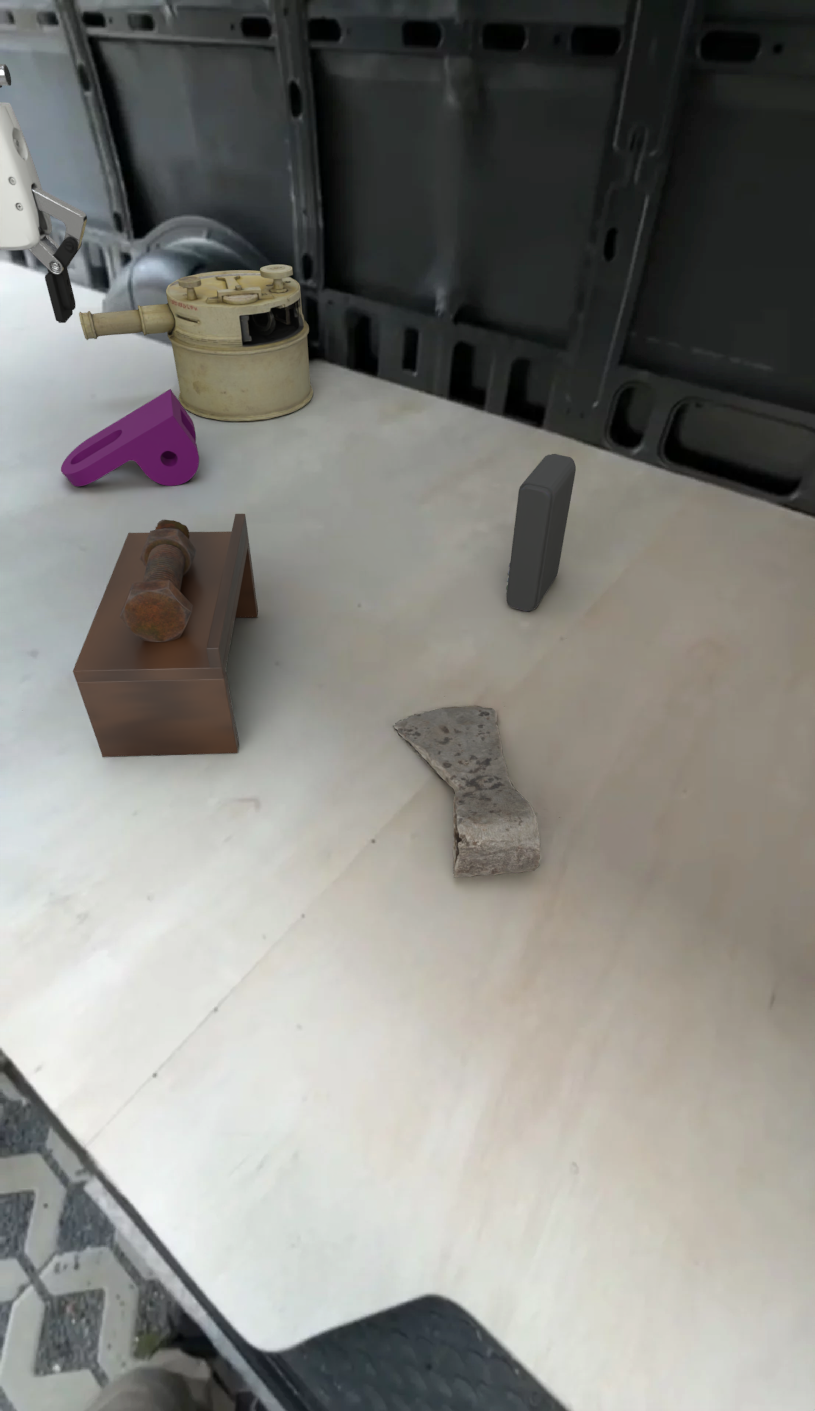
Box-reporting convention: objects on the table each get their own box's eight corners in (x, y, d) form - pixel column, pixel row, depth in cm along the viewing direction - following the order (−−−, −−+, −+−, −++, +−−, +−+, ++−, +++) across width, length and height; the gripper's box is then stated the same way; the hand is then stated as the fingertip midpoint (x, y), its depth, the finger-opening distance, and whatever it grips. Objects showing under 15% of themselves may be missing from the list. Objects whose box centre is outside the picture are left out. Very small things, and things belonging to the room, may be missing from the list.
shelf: (102, 757, 71) (65, 651, 63) (148, 613, 87) (123, 514, 79) (237, 753, 71) (218, 648, 63) (258, 611, 88) (245, 513, 80)
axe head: (389, 695, 74) (493, 685, 76) (390, 739, 77) (490, 729, 78) (430, 846, 57) (563, 829, 58) (430, 896, 60) (557, 879, 61)
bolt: (187, 564, 79) (172, 653, 68) (137, 544, 77) (113, 632, 66) (209, 517, 76) (197, 601, 65) (157, 494, 74) (136, 578, 63)
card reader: (527, 567, 95) (544, 448, 85) (559, 576, 94) (580, 455, 84) (500, 606, 89) (514, 482, 79) (534, 616, 88) (553, 491, 78)
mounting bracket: (101, 531, 111) (210, 467, 109) (58, 483, 105) (173, 415, 103) (103, 499, 118) (205, 439, 116) (63, 453, 112) (170, 388, 110)
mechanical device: (99, 386, 135) (67, 255, 122) (296, 366, 144) (287, 241, 131) (106, 439, 120) (71, 295, 106) (327, 413, 129) (320, 277, 115)
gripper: (67, 79, 64) (116, 306, 76) (-152, 76, 64) (-70, 306, 75) (41, 88, 59) (98, 331, 70) (-200, 84, 58) (-103, 331, 69)
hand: (11, 318), depth 73 cm, fingers open, 9 cm apart
